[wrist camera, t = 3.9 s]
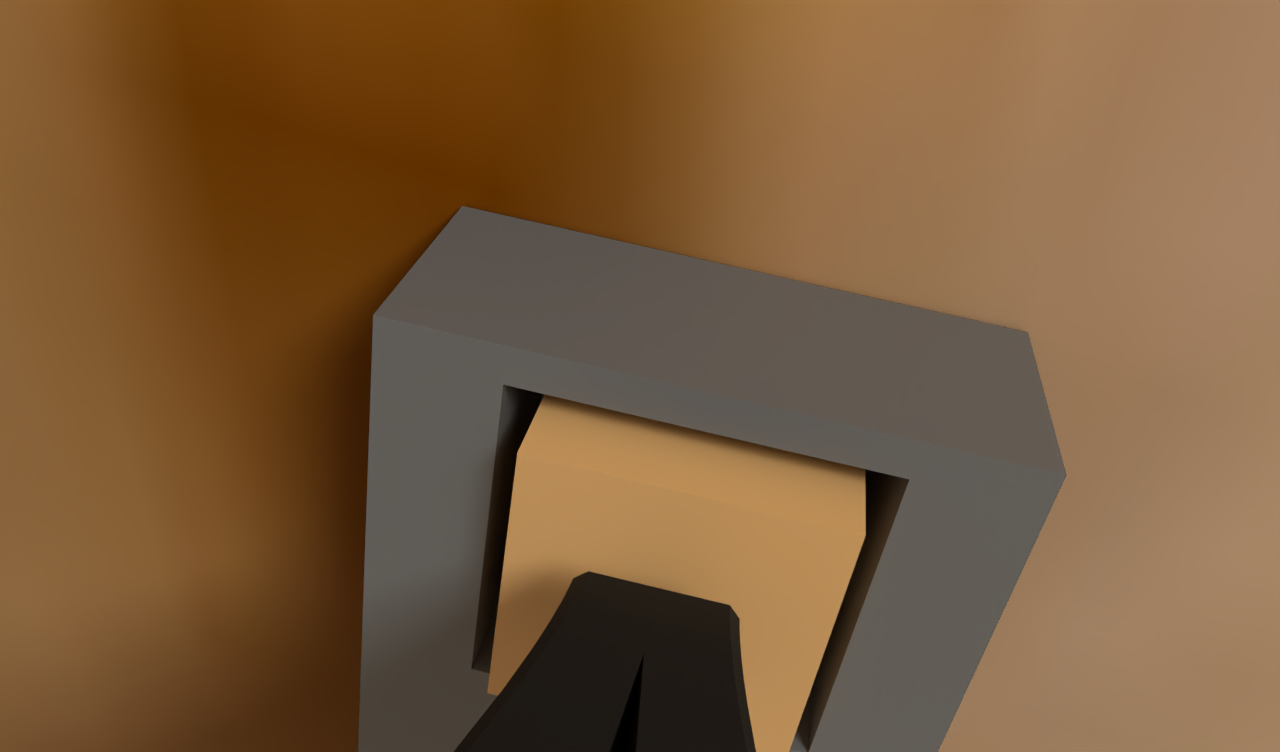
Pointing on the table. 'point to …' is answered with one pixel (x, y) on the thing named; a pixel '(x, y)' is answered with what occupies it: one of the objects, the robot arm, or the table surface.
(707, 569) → the orange key
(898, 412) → the grey button panel
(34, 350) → the table surface
